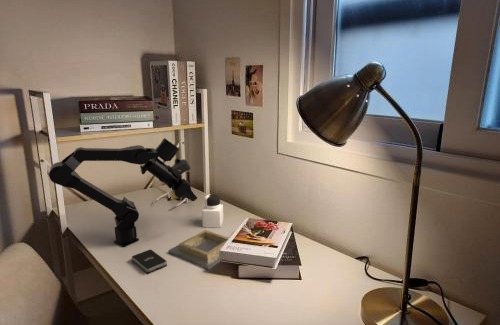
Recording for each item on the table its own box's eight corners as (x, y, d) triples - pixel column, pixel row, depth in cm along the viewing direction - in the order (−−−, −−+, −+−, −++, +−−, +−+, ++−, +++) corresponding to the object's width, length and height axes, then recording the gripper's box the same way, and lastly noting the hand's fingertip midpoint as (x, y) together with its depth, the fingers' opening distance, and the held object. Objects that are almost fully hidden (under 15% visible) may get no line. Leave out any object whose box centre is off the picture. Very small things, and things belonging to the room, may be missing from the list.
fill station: (208, 269, 108) (207, 260, 107) (168, 253, 118) (167, 244, 117) (243, 246, 122) (243, 238, 121) (205, 233, 132) (204, 225, 131)
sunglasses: (194, 201, 165) (192, 192, 163) (171, 216, 153) (169, 206, 151) (173, 196, 172) (171, 187, 171) (149, 210, 161) (147, 200, 159)
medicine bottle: (223, 220, 143) (222, 192, 140) (220, 228, 136) (219, 198, 133) (206, 219, 144) (205, 192, 141) (202, 227, 137) (201, 198, 134)
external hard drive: (151, 254, 118) (150, 249, 118) (168, 267, 110) (167, 261, 110) (131, 262, 114) (130, 256, 113) (147, 275, 106) (147, 270, 105)
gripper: (182, 159, 119) (214, 185, 126) (170, 149, 135) (199, 172, 143) (161, 185, 118) (194, 209, 125) (151, 171, 134) (181, 194, 141)
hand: (192, 195), depth 134 cm, fingers open, 9 cm apart
